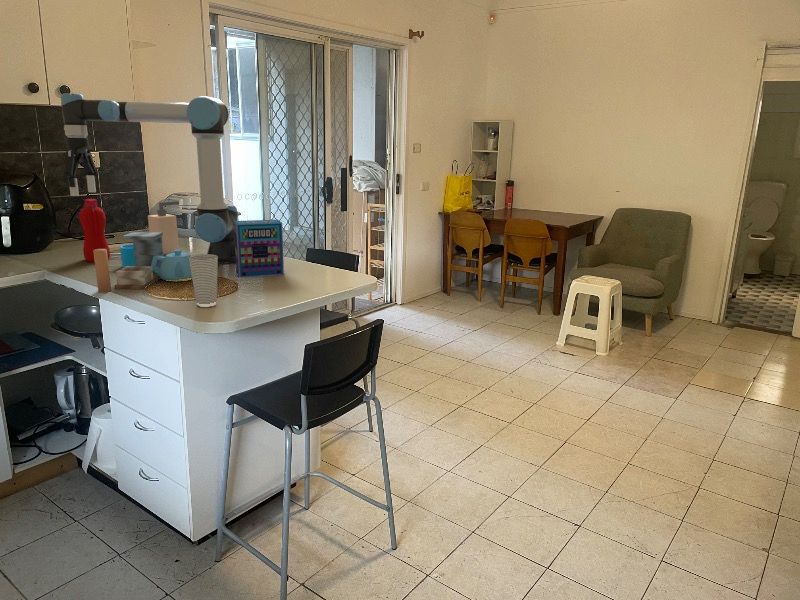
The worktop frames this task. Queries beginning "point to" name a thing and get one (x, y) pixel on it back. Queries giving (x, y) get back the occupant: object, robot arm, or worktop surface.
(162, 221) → the soap dispenser
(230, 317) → the worktop surface
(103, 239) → the water bottle
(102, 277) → the peg
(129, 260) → the mug
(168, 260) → the teapot
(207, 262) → the cup
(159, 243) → the socket station
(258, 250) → the box
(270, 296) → the worktop surface
